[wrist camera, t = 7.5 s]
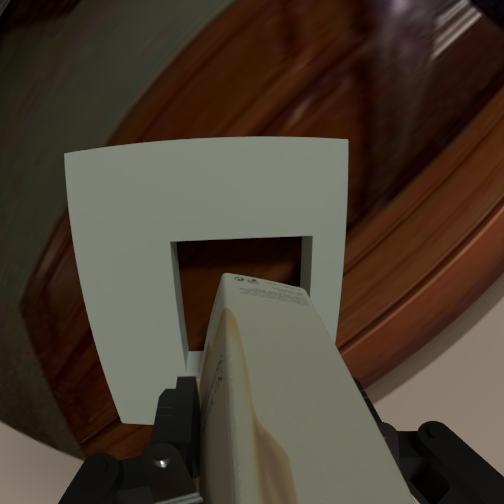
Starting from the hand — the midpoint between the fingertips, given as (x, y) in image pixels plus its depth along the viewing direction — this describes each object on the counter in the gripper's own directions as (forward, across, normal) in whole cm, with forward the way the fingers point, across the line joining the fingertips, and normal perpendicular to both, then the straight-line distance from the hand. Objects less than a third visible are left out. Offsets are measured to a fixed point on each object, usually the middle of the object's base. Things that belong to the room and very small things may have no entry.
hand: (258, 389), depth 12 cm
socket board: (+10, +2, 0) cm, 10 cm away
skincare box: (+5, 0, 0) cm, 5 cm away
